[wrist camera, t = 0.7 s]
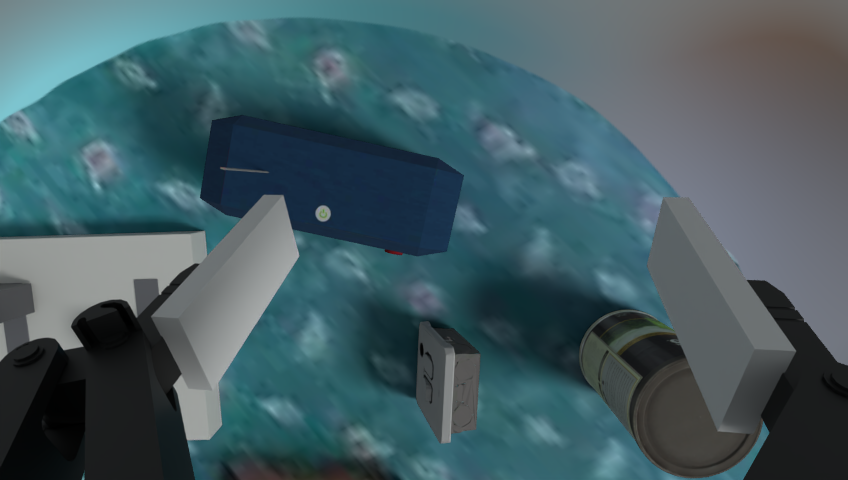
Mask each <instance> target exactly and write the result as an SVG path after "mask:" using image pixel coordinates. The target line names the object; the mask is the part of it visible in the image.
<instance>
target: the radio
mask: <svg viewBox="0 0 848 480" xmlns="http://www.w3.org/2000/svg"><path fill="white" fill-rule="evenodd" d="M463 177H464V175H462V174H461V173H459V172H458V171H456V170H455V169H453V168H452V167H451V166H449V165H448V164H446V163H445V162H443V161H442V160H440V159H439V158H435V157H430V156H426V155H421V154H417V153H412V152H408V151H403V150H398V149H394V148H389V147H385V146H380V145H376V144H371V143H367V142H362V141H358V140H353V139H348V138H344V137H339V136H335V135H330V134H326V133H321V132H317V131H312V130H308V129H303V128H298V127H294V126H289V125H285V124H280V123H276V122H271V121H267V120H262V119H258V118H253V117H248V116H244V115H240V116H234V117H229V118H223V119H217V120H212V125H211V131H210V138H209V144H208V150H207V157H206V163H205V169H204V176H203V182H202V188H201V195H200V198H201V199H202V200H204V201H205V202H207V203H209V204H210V205H212V206H213V207H215V208H216V209H218V210H219V211H221V212H222V213H224V214H225V215H229V216H234V217H238V218H243V217H244V216H245V215H246V214H247V213H248V211H249V210H250V209H251V208H252V207H253V206H254V205H255V204H256V203H257V202H258V201H259V200H260V198H261V197H262V196H263V195H283V196H284V200H285V204H286V208H287V211H288V215H289V219H290V223H291V227H292V229H294V230H299V231H303V232H308V233H312V234H317V235H322V236H326V237H331V238H335V239H340V240H345V241H349V242H354V243H359V244H363V245H368V246H372V247H377V248H382V249H385V252H387V253H391V254H396V255H402V254H403V253H405V254H409V255H414V256H421V255H428V254H434V253H440V252H446V251H447V248H448V243H449V239H450V235H451V230H452V226H453V221H454V217H455V212H456V208H457V204H458V199H459V195H460V190H461V186H462V181H463Z"/></svg>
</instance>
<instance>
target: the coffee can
mask: <svg viewBox="0 0 848 480" xmlns="http://www.w3.org/2000/svg"><path fill="white" fill-rule="evenodd" d="M579 363H580V367H581V370H582V373H583V375H584V377H585V379H586V380H587V382H588V383H589V384H590V385H591V386H592V387H593V388H594V389H595V390H596V392H597V393H598V394H599V395H600V397H601V398H602V399H603V400H604V402H605V403H606V404H607V405H608V407H609V408H610V409H611V411H612V412H613V413H614V414H615V415H616V417H617V418H618V419H619V420H620V422H621V423H622V424H623V425H624V427H625V428H626V429H627V431H628V432H629V433H630V434H631V436H632V437H633V438H634V439H635V441H636V442H637V444H638V446H639V448H640V449H641V451H642V452H643V453H644V455H645V456H646V457H647V458H648V459H649V460H650V461H651V462H652V463H653V464H654V465H655V466H657V467H658V468H660V469H661V470H663V471H665V472H667V473H670V474H672V475H675V476H679V477H684V478H703V477H709V476H713V475H716V474H719V473H722V472H724V471H727V470H729V469H730V468H732V467H734V466H735V465H736V464H738V463H739V462H740V461H741V460H743V459H744V458H745V457H746V456H747V454H748V453H749V452H750V450H751V449H752V448H753V446H754V445H755V443H756V441H757V439H758V437H759V435H760V432H761V428H762V424H763V419H762V418H761V420H760V422H759V424H758V426H757V428H756V430H755V432H754V433H753V434H746V433H733V432H721V431H717V428H716V426H715V424H714V421H713V419H712V417H711V414H710V412H709V410H708V407H707V405H706V403H705V400H704V398H703V396H702V393H701V391H700V389H699V386H698V384H697V382H696V379H695V377H694V375H693V372H692V370H691V368H690V365H689V363H688V361H687V358H686V356H685V354H684V351H683V349H682V347H681V344H680V342H679V340H678V337H677V335H676V333H675V331H674V330H673V329H671V328H669V327H668V326H666V325H664V324H663V323H661V322H659V321H658V320H657V319H656V318H654V317H653V316H651V315H649V314H647V313H644V312H641V311H637V310H618V311H614V312H611V313H608V314H606V315H604V316H603V317H601V318H599V319H598V320H597V321H596V322H594V323H593V324H592V325H591V326H590V328H589V329H588V330H587V331H586V333H585V335H584V337H583V339H582V342H581V345H580V350H579Z"/></svg>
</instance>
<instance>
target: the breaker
mask: <svg viewBox="0 0 848 480" xmlns="http://www.w3.org/2000/svg"><path fill="white" fill-rule="evenodd" d="M34 312H35V309H34V301H33V294H32V286H31V283H24V284H0V323H3V322H6V321H9V320H12V319H15V318H18V317H21V316H24V315H28V314H31V313H34Z"/></svg>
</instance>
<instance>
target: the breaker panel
mask: <svg viewBox="0 0 848 480" xmlns="http://www.w3.org/2000/svg"><path fill="white" fill-rule="evenodd" d="M206 257H207V249H206V237H205V231H185V232H152V233H120V234H87V235H54V236H21V237H0V284H24V283H31V286H32V294H33V301H34V309H35V312H34V313H31V314H28V315H24V316H21V317H18V318H15V319H12V320H9V321H6V322H3V323H0V361H1V360H2V359H3V358H4V357H5V356H6V355H7V354H8V353H10V352H11V351H12V350H14V349H15V348H16V347H18V346H20V345H22V344H24V343H26V342H30V341H33V340H36V339H39V338H47V337H48V338H54V339H56V340H57V342H58V343H59V344H60V346H61V347H62V349H63V350H67V349H73V348H78V347H84V346H83V345H82V343H81V342H80V340H79V339H78V337H77V336H76V334H75V333H74V331H73V330H72V328H71V325H72V323H73V320H74V319H75V318H76V317H77V316H78V315H79V314H80V313H82V312H83V311H85V310H86V309H88V308H89V307H91V306H93V305H96V304H98V303H100V302H104V301H108V300H116V299H121V300H124V301H127V302H128V304H129V305H130V307H131V309H132V311H133V313H134V314H135V316H136V318H137V317H138V316H139V315H140V314H141V313H142V312H143V311H144V310H145V309H146V308H147V306H148V305H149V304H150V303H151V302H152V301H153V300H154V299H155V298H156V297H157V296H158V295H161V292H162V291H163V290H164V289H165V288H166V287H167V286H169V285H170V283H171V282H172V280H173V279H174V278H175V277H176V276H177V275H178V274H179V273H180V272H182V271H184V270H185V269H187V268H188V267H190V266H192V265H193V264H195V263H198V264H200V263H201V262H202V261H203V260H204V259H205V258H206ZM173 386H174V388H175V390H176V392H177V394H178V399H179V404H180V408H181V413H182V418H183V423H184V428H185V433H186V438H187V440H210V438H211V437H212V436H213V435H214V434H215V433H216V431H217V430H218V429H219V428H220V427H221V426H222V419H221V408H220V397H219V385H218V384H217V385H216V387H215V389H214V390H213V391H209V390H196V389H188V387H187V385H186V383H185V381H184V379H183V377H182V375H181V376H180V377H179V378H178V380H177V381H176V382H175V384H174V385H173Z"/></svg>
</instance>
